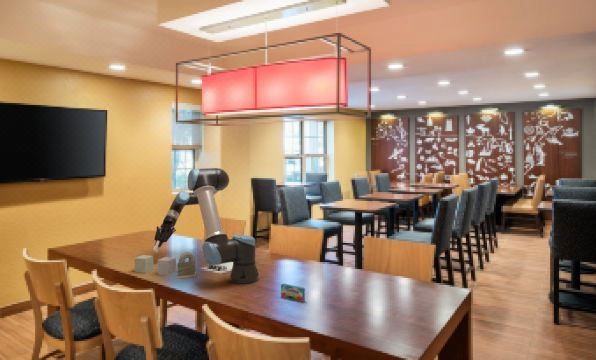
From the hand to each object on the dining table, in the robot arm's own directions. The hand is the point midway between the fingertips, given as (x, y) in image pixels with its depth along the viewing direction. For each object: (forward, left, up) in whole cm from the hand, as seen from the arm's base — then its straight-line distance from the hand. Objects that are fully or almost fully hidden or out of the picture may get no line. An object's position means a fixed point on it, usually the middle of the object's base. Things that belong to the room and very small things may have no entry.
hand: (154, 251), depth 241 cm
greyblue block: (-19, +1, -9) cm, 21 cm away
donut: (-20, -10, -9) cm, 24 cm away
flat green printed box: (-97, -22, -9) cm, 100 cm away
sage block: (-6, +9, -9) cm, 14 cm away
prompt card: (-33, -3, -9) cm, 34 cm away
